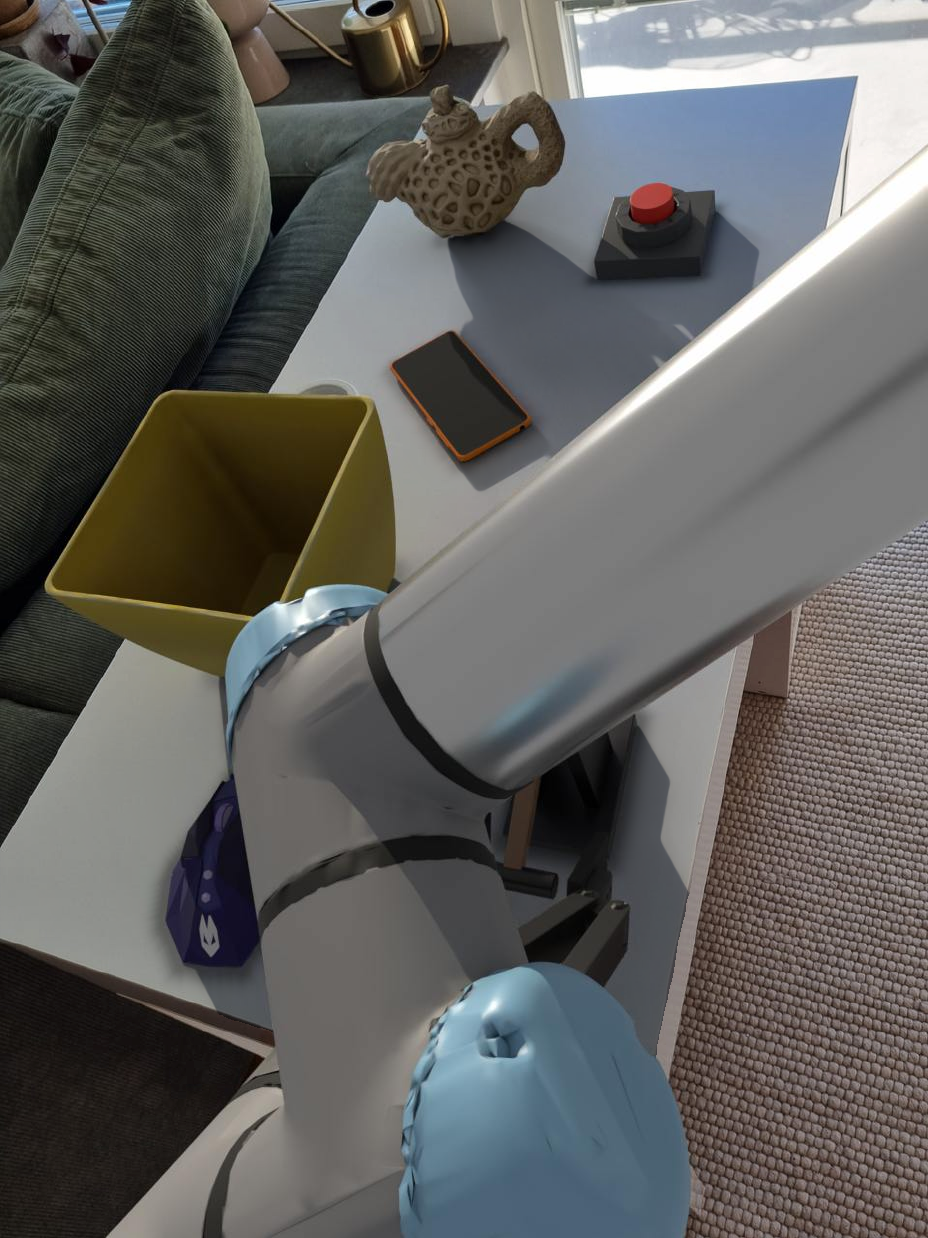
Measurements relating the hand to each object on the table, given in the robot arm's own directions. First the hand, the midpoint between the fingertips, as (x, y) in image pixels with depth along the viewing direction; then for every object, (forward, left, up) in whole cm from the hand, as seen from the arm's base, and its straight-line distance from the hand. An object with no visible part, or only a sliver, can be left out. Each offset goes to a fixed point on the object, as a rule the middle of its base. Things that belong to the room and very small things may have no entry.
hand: (542, 841), depth 58 cm
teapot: (+24, -68, -4) cm, 72 cm away
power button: (+4, -63, 0) cm, 63 cm away
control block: (+4, -63, -4) cm, 63 cm away
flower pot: (+25, -16, -4) cm, 30 cm away
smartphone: (+19, -42, -4) cm, 46 cm away
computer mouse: (+23, +4, -4) cm, 24 cm away
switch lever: (0, -2, +5) cm, 5 cm away
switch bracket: (0, -6, -4) cm, 7 cm away
